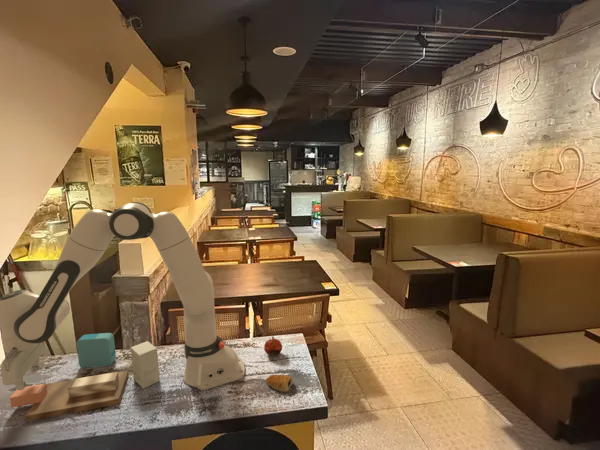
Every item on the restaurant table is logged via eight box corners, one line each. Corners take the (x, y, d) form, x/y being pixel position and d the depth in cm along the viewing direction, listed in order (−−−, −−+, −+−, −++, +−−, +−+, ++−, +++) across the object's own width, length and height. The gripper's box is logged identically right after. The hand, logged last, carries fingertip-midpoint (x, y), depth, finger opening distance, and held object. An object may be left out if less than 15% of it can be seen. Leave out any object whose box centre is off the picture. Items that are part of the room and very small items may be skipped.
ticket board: (128, 375, 127) (127, 362, 126) (119, 404, 111) (117, 388, 110) (47, 389, 119) (45, 374, 118) (26, 421, 104) (23, 405, 103)
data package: (116, 359, 137) (113, 332, 135) (112, 366, 133) (108, 338, 131) (85, 361, 136) (81, 334, 133) (79, 368, 131) (75, 340, 129)
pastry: (262, 387, 119) (262, 378, 119) (271, 377, 126) (271, 367, 125) (287, 394, 116) (286, 384, 115) (294, 382, 122) (294, 373, 122)
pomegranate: (282, 363, 137) (285, 339, 144) (278, 356, 132) (281, 332, 139) (265, 363, 139) (268, 340, 145) (260, 356, 133) (263, 332, 140)
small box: (160, 380, 123) (157, 348, 121) (142, 389, 119) (139, 355, 116) (150, 371, 129) (147, 340, 127) (133, 379, 124) (130, 347, 122)
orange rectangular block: (47, 392, 114) (45, 383, 114) (41, 402, 110) (39, 392, 109) (19, 397, 112) (17, 387, 111) (11, 407, 107) (9, 397, 107)
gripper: (16, 356, 98) (25, 398, 101) (46, 324, 117) (52, 360, 120) (-10, 360, 96) (-1, 403, 99) (24, 327, 116) (31, 364, 118)
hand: (29, 379), depth 110 cm, fingers open, 8 cm apart
